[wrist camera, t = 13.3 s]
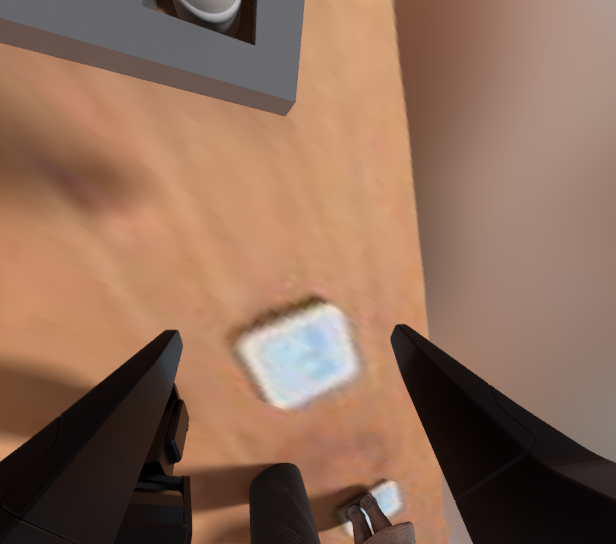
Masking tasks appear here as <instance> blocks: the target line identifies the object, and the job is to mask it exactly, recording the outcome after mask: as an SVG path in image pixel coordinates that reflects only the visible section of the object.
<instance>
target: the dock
mask: <svg viewBox="0 0 616 544" xmlns="http://www.w3.org/2000/svg"><path fill="white" fill-rule="evenodd" d="M304 1H305V0H254V11H253V36H252V44H249V43H246V42H243V41H240V40H238V39H235V38H232V37H229V36H226V35H223V34H220V33H218V32H215V31H212V30H209V29H206V28H203V27H201V26H198V25H195V24H192V23H189V22H186V21H183V20H181V19H178V18H175V17H172V16H169V15H166V14H164V13H161V12H158V11H157V0H0V42H1V43H4V44H8V45H12V46H16V47H20V48H24V49H28V50H31V51H35V52H39V53H43V54H47V55H51V56H55V57H58V58H62V59H66V60H70V61H74V62H78V63H82V64H86V65H89V66H93V67H97V68H101V69H105V70H109V71H113V72H116V73H120V74H124V75H128V76H132V77H136V78H140V79H143V80H147V81H151V82H155V83H159V84H163V85H167V86H170V87H174V88H178V89H182V90H186V91H190V92H194V93H198V94H201V95H205V96H209V97H213V98H217V99H221V100H225V101H228V102H232V103H236V104H240V105H244V106H248V107H252V108H255V109H259V110H263V111H267V112H271V113H275V114H279V115H282V116H286V115H287V113H288V112H289V110H290V109H291V108H292V106H293V105H294V103H295V102H296V90H297V79H298V68H299V57H300V46H301V35H302V24H303V12H304Z"/></svg>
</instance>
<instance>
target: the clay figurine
mask: <svg viewBox="0 0 616 544" xmlns="http://www.w3.org/2000/svg"><path fill="white" fill-rule="evenodd" d="M360 506H361V507H362V508H363V509H364V510H365V512H366V513H367V515H368V516H369V519H370V522H371V525H372V528H373V531H374V535H372V533H371V530H370V527H369V525H368V523H367V521H366V518H365V514H364V513H363V512H362V511H361V510H360V508H358V506H356V505H352V506H351V507H350V508H349V509H348V510H347V512H346V517H347V518H348V519H349V520H350V521H351V522H352V525H353V534H354V543H355V544H416V542H415V532H414V527H413V524H412V523H411V522H409V521H408V522H404V523H400V524H396V525H393V526H392V524H391V523H390V521H389V520H388V519H387V517H386V516H385V515H384V513H383V512H382V511H381V509H380V508H379V506H378V503H377V500H376V498H374V497H373V496H372V494H371V493H367V494H366V495H365V496H363V498H362V499H361V500H360Z"/></svg>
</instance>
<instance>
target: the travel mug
mask: <svg viewBox="0 0 616 544" xmlns="http://www.w3.org/2000/svg"><path fill="white" fill-rule="evenodd" d="M249 504H250V532H251V544H321V543H320V540H319V536H318V532H317V529H316V525H315V522H314V518H313V515H312V511H311V508H310V504H309V501H308V497H307V494H306V490H305V486H304V483H303V480H302V476H301V473H300V470H299V469H298V467H297V466H295V465H293V464H289V463H284V464H278V465H275V466H272V467H270V468H268V469H266V470H265V471H263V472H262V473H260V474H259V475H258V476H257V477H256V478H255V479H254V481H253V482H252V484H251V486H250V491H249Z"/></svg>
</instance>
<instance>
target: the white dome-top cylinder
mask: <svg viewBox="0 0 616 544" xmlns="http://www.w3.org/2000/svg"><path fill="white" fill-rule="evenodd" d="M241 1H242V0H173V3H174V7H175V10H176V12H177V14H178V16H179V18H180V19H181V20H183V21H186V22H189V23H192V24H195V25H198V26H201V27H203V28H206V29H209V30H212V31H215V32H218V33H220V34H223V35H226V36H229V37H232V38H234V37H235V35H236V34H237V32H238V29H239V26H240V19H241Z"/></svg>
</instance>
